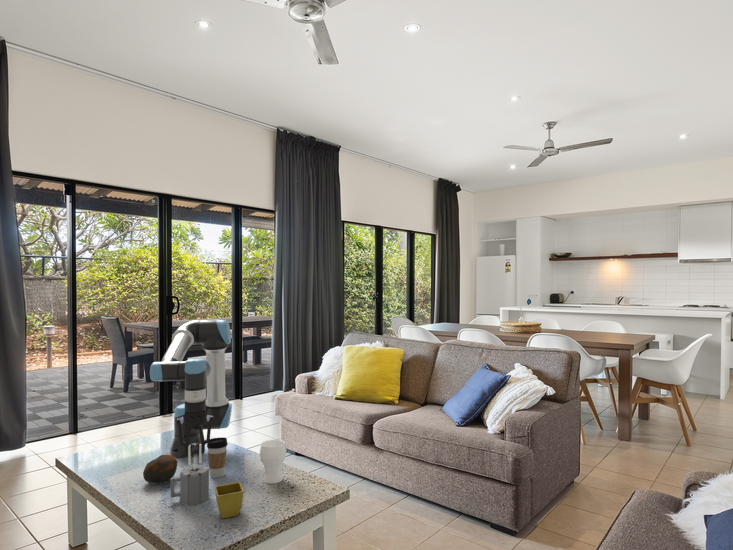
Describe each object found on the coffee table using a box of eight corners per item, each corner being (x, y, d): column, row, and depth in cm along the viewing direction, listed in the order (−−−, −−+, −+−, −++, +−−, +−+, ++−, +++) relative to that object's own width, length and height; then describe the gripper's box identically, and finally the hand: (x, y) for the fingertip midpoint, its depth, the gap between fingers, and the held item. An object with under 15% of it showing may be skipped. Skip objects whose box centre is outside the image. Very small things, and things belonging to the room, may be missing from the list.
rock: (150, 491, 182) (150, 465, 182) (138, 483, 189) (138, 458, 189) (183, 480, 192) (183, 455, 192) (170, 473, 199) (170, 449, 199)
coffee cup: (221, 479, 192) (221, 443, 193) (202, 478, 194) (202, 441, 194) (231, 471, 200) (231, 436, 201) (213, 470, 202) (213, 435, 203)
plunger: (186, 486, 177) (186, 442, 177) (204, 484, 179) (204, 440, 179) (185, 493, 171) (185, 447, 171) (203, 491, 173) (203, 446, 173)
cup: (254, 480, 191) (254, 443, 192) (276, 472, 199) (276, 437, 199) (270, 487, 184) (270, 449, 184) (291, 479, 192) (291, 442, 192)
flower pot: (217, 523, 156) (217, 495, 157) (214, 511, 164) (214, 485, 165) (243, 517, 160) (243, 491, 160) (240, 506, 168) (240, 481, 168)
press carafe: (171, 496, 177) (172, 467, 177) (209, 491, 181) (209, 463, 181) (169, 508, 167) (169, 477, 168) (208, 502, 171) (208, 472, 172)
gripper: (171, 404, 170) (170, 469, 169) (217, 400, 175) (217, 463, 174) (173, 399, 177) (172, 462, 176) (217, 396, 182) (217, 457, 181)
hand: (194, 462), depth 175 cm, fingers closed on plunger, 3 cm apart
